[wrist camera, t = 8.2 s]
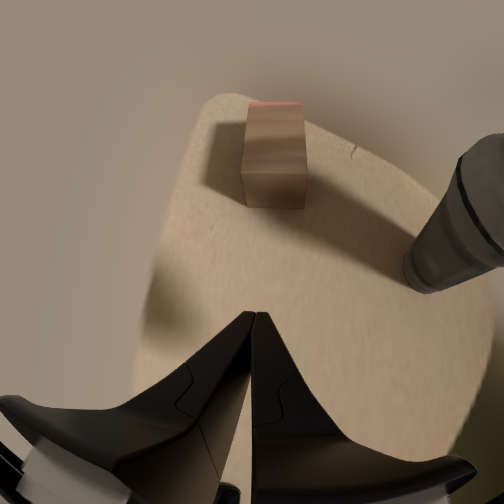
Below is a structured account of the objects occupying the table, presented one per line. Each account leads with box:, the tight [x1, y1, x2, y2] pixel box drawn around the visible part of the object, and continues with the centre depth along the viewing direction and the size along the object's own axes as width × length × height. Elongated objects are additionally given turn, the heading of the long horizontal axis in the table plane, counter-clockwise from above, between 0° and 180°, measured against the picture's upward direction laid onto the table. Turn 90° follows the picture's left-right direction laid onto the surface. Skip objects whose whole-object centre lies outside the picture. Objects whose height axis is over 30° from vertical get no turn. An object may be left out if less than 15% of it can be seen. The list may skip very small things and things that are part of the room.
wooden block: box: [240, 102, 308, 209], centre depth 24 cm, size 5×5×9 cm
